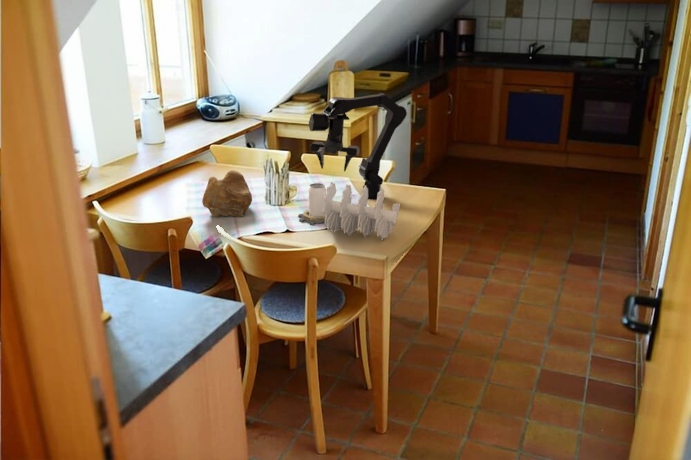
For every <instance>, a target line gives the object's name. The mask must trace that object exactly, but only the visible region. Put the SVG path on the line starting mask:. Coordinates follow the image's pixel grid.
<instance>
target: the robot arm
mask: <svg viewBox="0 0 691 460" xmlns="http://www.w3.org/2000/svg"><path fill="white" fill-rule="evenodd" d="M375 106H381V107H382V108H383V109H384V110H385V111H386V112H385V117H384V125H383V127H382V129H381V131H380V132H379V133H380V134H379V135H378V138H377V140H376V142H375V144H374V147H373V148H372V150H371V153H370V155H369V156H368V157H367V158H364V157H363V158H362V160H361V162H360V165H359V166H358V168H359V169H358V172H359V175H360V176H361V177H362V178H363V180H364V181H365V182H364V184H363V185H362V189H364V185H366V187H367V188H368V200H369V199H371V200H377V193H378V192H380V188H382V185H383V183H384V178H383V177H381V176H380V175H379V172H380V168H381V160H382V158H383V156H384V154H385V152H386V150H387V148H388V145H389V143H390V141H391V139H392V137H393V135H394V133H395V130H396V129H397V128H398V127H400V125H401V124H403V122H404V120H405V119H406V117H407V115H408V112H407V108H405V107H404V106H402V105H401V104H398V103H396V102H395V101H393V100H392V99H391V98H390V97H388V95H387V94H384V93H381V92H380V93H378V94H377V93H376V94H372V95H371V94H369V95H364V96H355V97H344V96H343V97H341V96H339V97H338V96H333V97H331V98H330V99H329V101H328V103H327V106H326V107H325V108H324V109H323V111H322V112H320V113H318V112H317V113H316V112H311V113H310V118H309V120H308V127H309V131H310V132H326V131H327V130H328V132H327V138H326V140H325V142H324V141H313V142H312V143H311V144H309V151H311V152H313V154H315V155H316V156H317V158H318V162H319V164H320V168H321V169H324V165H325V162H324V161H325V159H324V158H325V154H332V155H333V154H334V155H335V154H337V152H341V153H346V155H345V160H344V168H343V172H346V170H347V169H348V166H349V164H350V161H351V160H352V158H353V159H354V157H356V156H359V155H360V147H359V146H358V145H351V144H350V145H349V146H347V147H346V146H344V143H343V140H344V139H343V138H344V123H345V121H347V120H348V121H349V120H350V117H349V116H347V113H349V112H351V111H352V110H355V109H363V108H369V107H375Z"/></svg>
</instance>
